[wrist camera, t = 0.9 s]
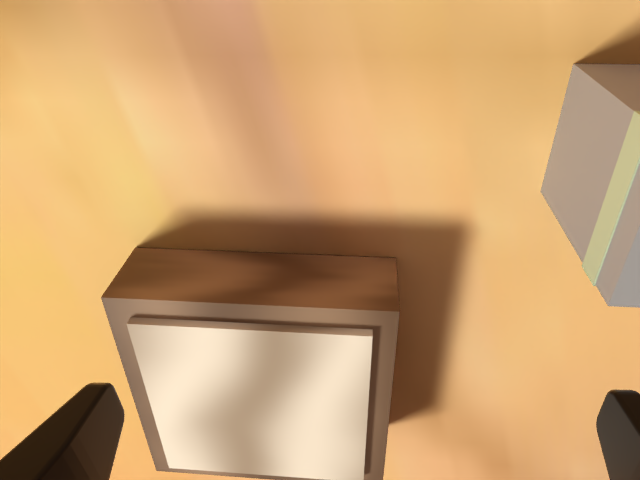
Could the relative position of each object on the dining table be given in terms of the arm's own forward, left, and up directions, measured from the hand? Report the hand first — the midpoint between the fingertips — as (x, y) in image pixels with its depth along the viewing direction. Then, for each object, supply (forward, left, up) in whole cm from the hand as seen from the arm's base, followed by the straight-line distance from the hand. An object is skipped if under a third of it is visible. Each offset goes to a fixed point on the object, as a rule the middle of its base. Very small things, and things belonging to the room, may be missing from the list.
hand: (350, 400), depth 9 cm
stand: (+4, +12, -13) cm, 18 cm away
